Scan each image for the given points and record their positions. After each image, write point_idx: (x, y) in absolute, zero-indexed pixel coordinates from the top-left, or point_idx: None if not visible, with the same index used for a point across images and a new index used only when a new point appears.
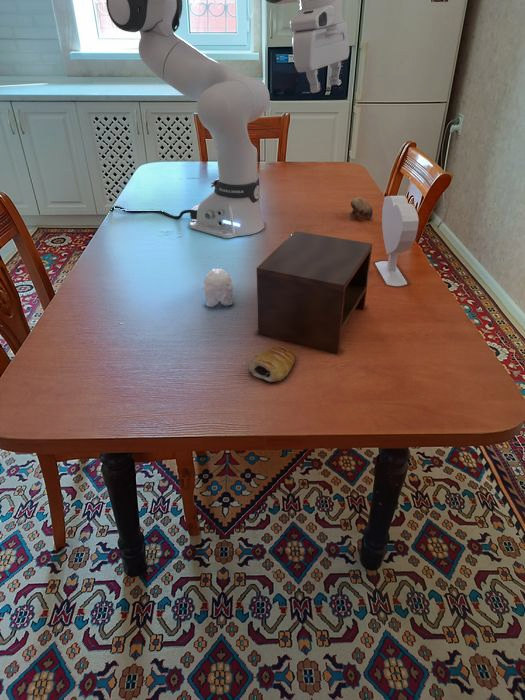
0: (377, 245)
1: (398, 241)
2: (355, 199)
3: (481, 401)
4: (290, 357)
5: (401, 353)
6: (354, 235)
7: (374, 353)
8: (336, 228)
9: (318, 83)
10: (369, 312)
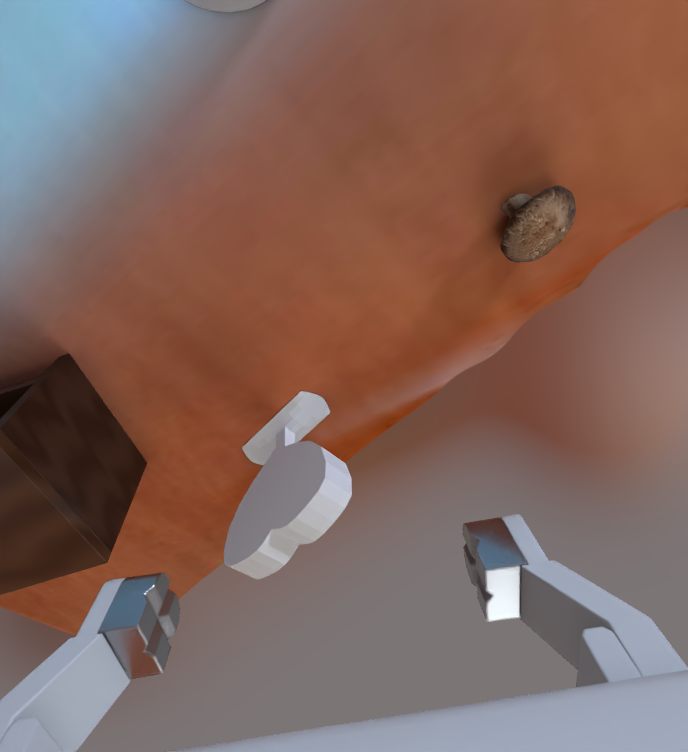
0: (383, 349)
1: (232, 522)
2: (544, 212)
3: None
4: None
5: None
6: (403, 278)
7: None
8: (418, 211)
9: (132, 676)
10: None
